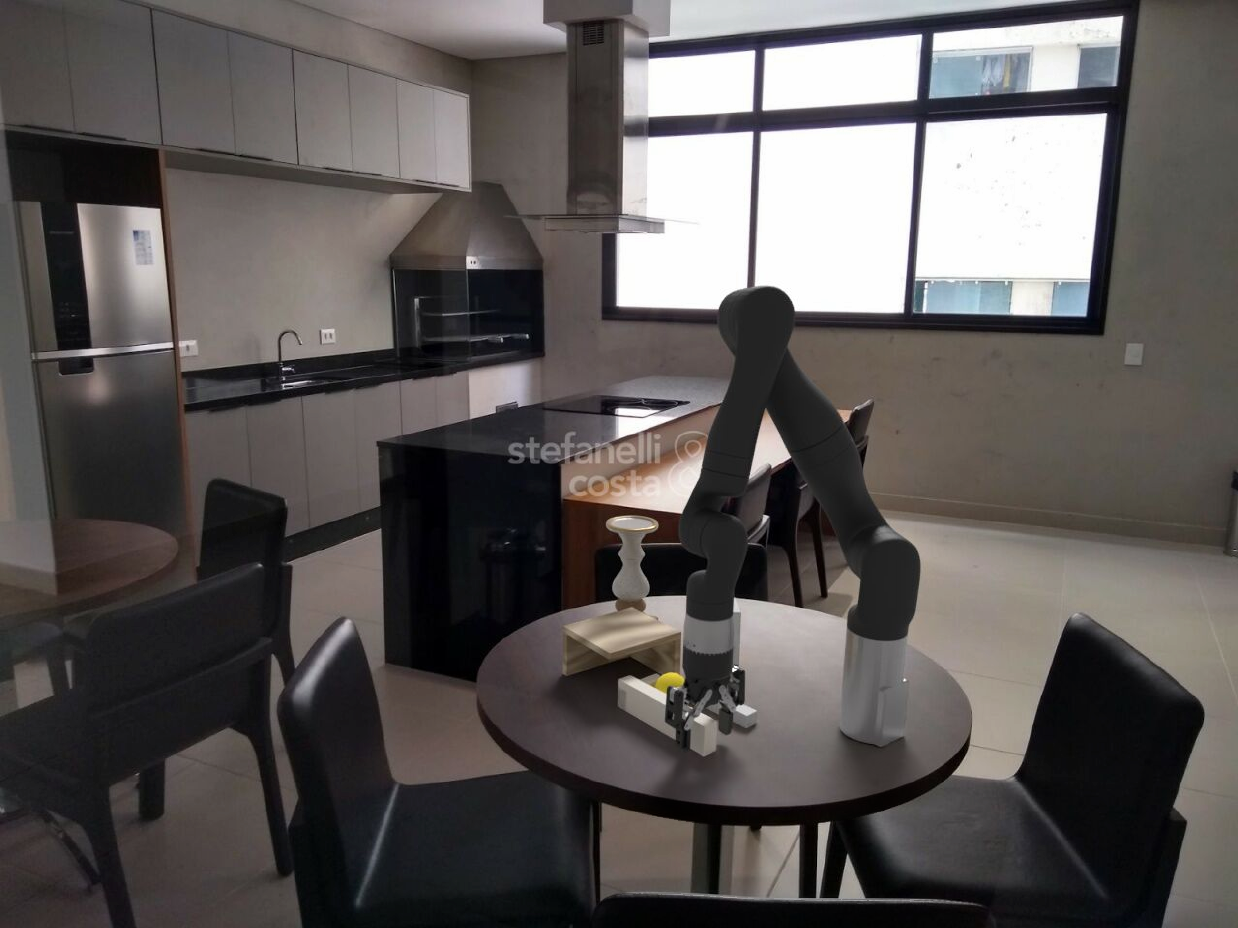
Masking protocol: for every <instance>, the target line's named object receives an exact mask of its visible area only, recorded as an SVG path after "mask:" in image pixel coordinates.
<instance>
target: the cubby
mask: <svg viewBox="0 0 1238 928" xmlns="http://www.w3.org/2000/svg"><path fill="white" fill-rule="evenodd" d="M644 613H645V612H644ZM644 613H642V612H640V611H638V610H636V609H634V608H632V607H631V608H628V609H624V610H620V611H617V610H616V612H615V611H613V612H609V613H605V614H602V615H598V616H595V617H590V618H587V619H583V620H580V621H576V622H573V623H569V624H565V625H562V674H563V675H564V676H566V677H568V676H571V675H574V674H577V673H580V672H584V671H587V670H590V669H593V668H597V667H600V666H603V665H606V664H610V663H613V662H616V661H619V660H623V659H625V658H629V657H630V658H632V659H634V660H635V661H637V662H639V663H641V664H643V665H644V666H647V668H650V669H652V670H653V671H655V672H657V674H659V675H661V676H662V675H663V674H666V673H670V672H672V673H677V674H678V675H680V676H681V651H682V650H681V647H682V631H680V630H678V629H676V628H674V627H672V626H670V625H668V624H666V623H664V622H662V621H660V620H659V619H658V620H656V619H654V618H652V617H650V616H648V615H649V614H647V613H646V614H647V615H646V614H644Z"/></svg>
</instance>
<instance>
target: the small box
mask: <svg viewBox="0 0 1238 928" xmlns="http://www.w3.org/2000/svg"><path fill="white" fill-rule="evenodd" d="M733 618H734V651H733V665H735V666H738V665H739V664H740V647H741V646H740V644H741V622H742V621H741V620H742V619H741V618H742V612H741V608H740V607H739V602H738V600H737V597H734V611H733Z"/></svg>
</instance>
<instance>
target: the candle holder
mask: <svg viewBox="0 0 1238 928" xmlns="http://www.w3.org/2000/svg"><path fill="white" fill-rule="evenodd" d="M605 526H606V528H607V529H608V530H609V531H610V532H613V533H617V534H618V536H619V538H621V540H622V546H621V548H620V550H619V551H618V553H617V554H618V556H619V557H620V560H621V562H622V566H621V569H620V571H619V572H618V574H617V576H616V577H615V578H614V580H613V582H612V592H613V594H614V595H615V596H616V597H617V598H618V599H617V600H616V601H615V603H614V606H615V607H614V608H615V610H616V611H620V610H624V609H628V608H631V607H632V608H634V609H636V610H638V611H640V612H642V613H644V614H646V615H648V616H650V617H652V618H654V619H656V620H658V621H659V617H658V616H657V615H652V614H647V613H646V612H644V611H645V610H646V608H647V603H646V601H645V600H644V599H645V597H647V595H648V594H649V592H650V584H649V580H648V578H647V577H646V576H645V574H644V573H643V570H642V568H641V562H642V560H643V558H644V557H645V555H646V553H645V552H644V550H643V548H642V546H641V544H642V540H643V538H644V537H645V536H646V534H650V533H653V532H655V531H657V530H658V528H659V522H658V521H657V520H656V519H654V518H651V517H648V516H641V515H620V516H615V517H611V518H609V519H608V520H607V521H606V522H605ZM616 611H614V612H616Z"/></svg>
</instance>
